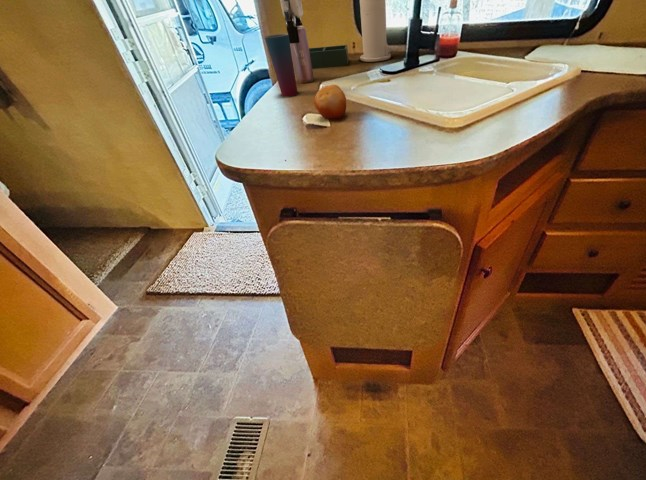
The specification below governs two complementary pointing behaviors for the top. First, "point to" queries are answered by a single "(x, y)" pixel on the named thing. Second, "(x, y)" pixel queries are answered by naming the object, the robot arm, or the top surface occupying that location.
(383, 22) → the robot arm
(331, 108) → the fruit
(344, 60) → the rack
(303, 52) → the beverage can
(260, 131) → the top surface
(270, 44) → the cup
